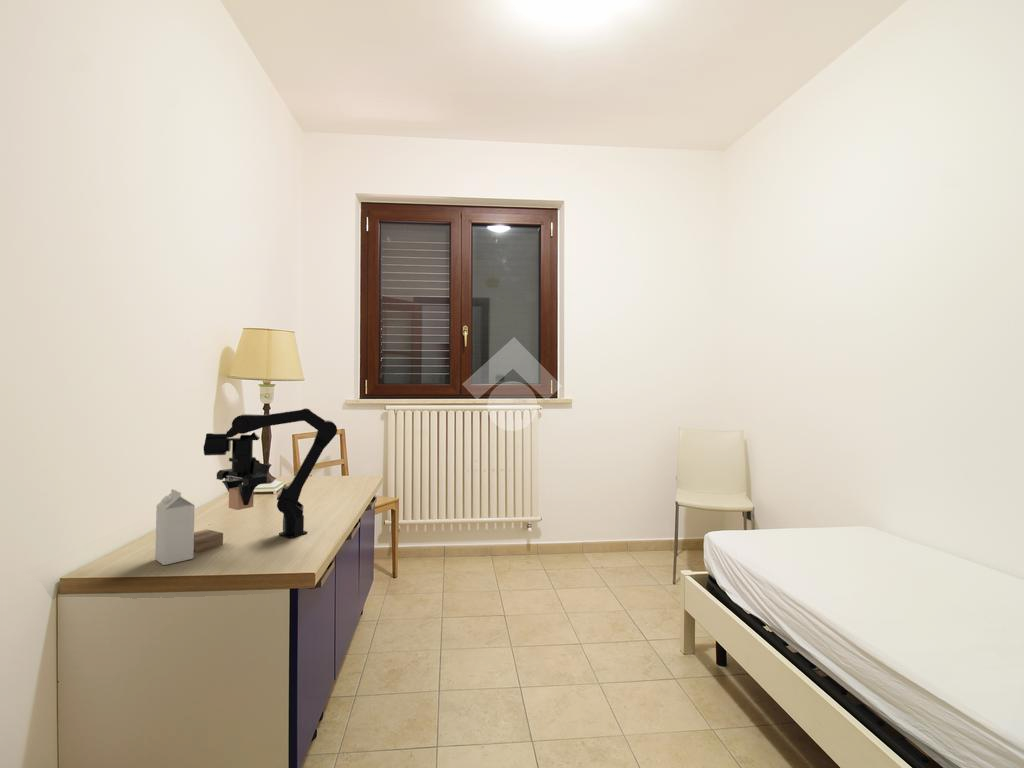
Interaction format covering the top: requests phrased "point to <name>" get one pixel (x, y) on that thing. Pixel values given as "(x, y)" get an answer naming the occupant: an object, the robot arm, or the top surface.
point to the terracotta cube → (238, 499)
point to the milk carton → (174, 529)
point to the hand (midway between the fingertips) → (241, 504)
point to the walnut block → (207, 540)
